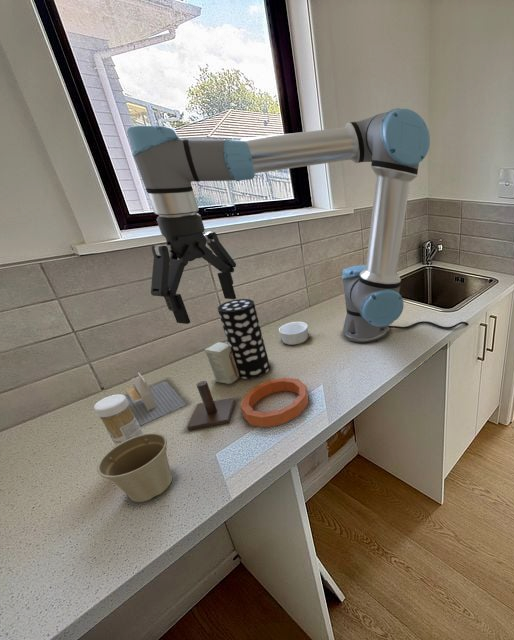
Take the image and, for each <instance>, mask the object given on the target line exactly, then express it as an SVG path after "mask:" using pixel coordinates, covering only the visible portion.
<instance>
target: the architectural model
mask: <svg viewBox="0 0 514 640" xmlns="http://www.w3.org/2000/svg"><path fill="white" fill-rule="evenodd" d="M137 375H138V376H135V375H134V377H133V378H131V381H132V383H133V384H132V387H129V388H126V389H125V391H126V393H127V394H128V395H127V396H125V397H126V399H127V400H128V402H129V407H130V409H131V411H132V413H133V415H134V416H135V418H136V420H137V422H138V424H139V426H140V427H141V426H143V425H146V424H148V423H149V422H152V421H154V420H155V419H159V418H161V417H162V416H163V417H164V416H165V415H167V414H169V413H171V412H174V411H175V410H178V409H180V408H182V407H185V406H187V404H186V403H185V401H184V400H183V399H182V398H181V397H180V395H178V394H177V392H176V391H175V390H174V389H173V387H172V386H171V385H170V384H169V383H168V382H167V380H165V381H162V382H159V383H157V384H155V385H152V386H150V387H149V385H148V382H147V381H146V380H145V378H144V377H143V376H142V374H141V373H140V372H137Z"/></svg>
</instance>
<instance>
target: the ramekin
mask: <svg viewBox="0 0 514 640" xmlns="http://www.w3.org/2000/svg"><path fill="white" fill-rule="evenodd" d="M308 328H309V326H308V324H307V323H305V322H303V321H291V322H287V323H285V324H282V325H281V326H280V327H279V328H278V332H279V334H280V338H281V341H282V342H283V343H284V344H286V345H291V346H293V345H299V344H303V343H304V342H305V341H307V340H308V338H309V330H308Z"/></svg>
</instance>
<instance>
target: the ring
mask: <svg viewBox="0 0 514 640" xmlns="http://www.w3.org/2000/svg"><path fill="white" fill-rule="evenodd" d="M285 391H287V392H293V393H296V394H297V396H296V397H295V398H294V400H293V401H292V402H291V403H289V404H287V405H285V406H284V407H282V408H280V409H275V410H270V411H260V410H254V406H255V405H256V404H258V402H259V401H260V400H261V399H263V398H265V397H267V396H270V395H271V394H274V393H278V392H279V393H280V392H285ZM308 404H309V393H308V387H307V385H306V384H305V383H304V382H302V381H301V380H300V379H298V378H292V377H286V376H285V377H279V378H274V379H268V380H266V381H264V382H261V383H259V384H257V385H255V386H253V387H252V388H251V389H250V390H249V391H247V393H245V394H244V395H243V397H242V400H241V403H240V410H241V413H242V416H243V418H244V419H245V420H246V421H247V423H248V425H250V426H255V427H259V428H260V427H261V428H269V427H275V426H276V427H277V426H280V425H284V424H286V423H288V422H290V421H292V420H293V419H295V418H297V417H299V416H300V415H301V414H302V412H304V410H305V409H306V407H307V406H308Z"/></svg>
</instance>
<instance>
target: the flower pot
mask: <svg viewBox="0 0 514 640" xmlns="http://www.w3.org/2000/svg"><path fill="white" fill-rule="evenodd" d="M167 446H168V439H167V437H166V436H165V435H164V434H162V433H159V432H149V433H143V434H142V435H138V436H136V437H133V438H130V439H128V440H126V441H124V442H122V443H120V444H118V445H117V446H115V445H114V447H112V448H111V449H109V450H108V451H107V452H106V453H105V454H104V455H103V456H102V458H101V459H100V460H99V462H98V463H97V466H96V472H97V474H98V475H99V477H101V478H104V479H107V480H109V481H111V482H112V483H114V485H116V486H117V487H118V488H119V489H120V490H121V491H122V492H123V493H124V494H125V495H126V496H127V497H128V498H129V499H130V500H131V501H133V502H135V503H143V502H148V501H150V500H151V499H153V498H154V497H156V496H160V495H161V494H162V493H164V492H165V491H166V490H167V489H168V488H169V487H170V485H171V483H172V481H173V474H172V470H171V467H170V463H169V459H168V454H167V448H168V447H167Z"/></svg>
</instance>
